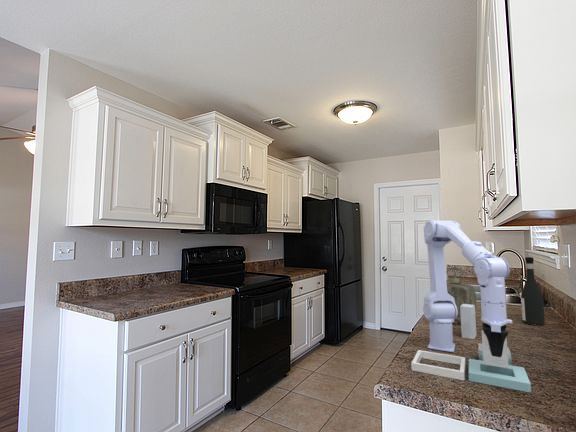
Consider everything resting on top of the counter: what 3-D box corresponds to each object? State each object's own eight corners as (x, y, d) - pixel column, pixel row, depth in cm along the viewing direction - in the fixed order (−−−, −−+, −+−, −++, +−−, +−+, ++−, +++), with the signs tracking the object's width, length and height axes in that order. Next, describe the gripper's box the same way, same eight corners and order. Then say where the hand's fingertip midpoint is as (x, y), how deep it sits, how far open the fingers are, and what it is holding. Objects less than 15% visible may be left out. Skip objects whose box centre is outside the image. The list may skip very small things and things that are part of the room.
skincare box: (464, 334, 125) (462, 303, 127) (476, 336, 123) (475, 304, 124) (461, 337, 121) (459, 305, 122) (473, 339, 118) (472, 307, 119)
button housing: (478, 356, 100) (478, 343, 101) (509, 360, 96) (508, 347, 97) (479, 364, 94) (478, 350, 94) (512, 369, 90) (511, 354, 90)
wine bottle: (519, 323, 144) (515, 257, 147) (526, 321, 148) (522, 256, 151) (541, 327, 137) (536, 257, 140) (547, 324, 141) (543, 257, 144)
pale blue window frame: (469, 365, 92) (469, 358, 92) (524, 375, 86) (523, 367, 86) (468, 380, 82) (468, 372, 82) (531, 392, 75) (530, 384, 76)
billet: (483, 359, 87) (481, 330, 88) (507, 363, 85) (505, 332, 85) (483, 364, 84) (481, 333, 85) (508, 368, 81) (506, 336, 82)
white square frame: (418, 356, 100) (418, 349, 100) (465, 364, 93) (465, 357, 93) (411, 370, 89) (411, 362, 89) (464, 380, 82) (464, 372, 82)
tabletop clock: (477, 324, 140) (474, 268, 143) (471, 328, 134) (469, 269, 136) (443, 319, 151) (441, 266, 153) (436, 322, 144) (434, 267, 146)
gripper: (514, 307, 77) (517, 365, 76) (508, 299, 90) (511, 348, 89) (480, 305, 81) (483, 359, 80) (479, 297, 93) (482, 344, 92)
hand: (496, 353), depth 84 cm, fingers closed on billet, 4 cm apart
